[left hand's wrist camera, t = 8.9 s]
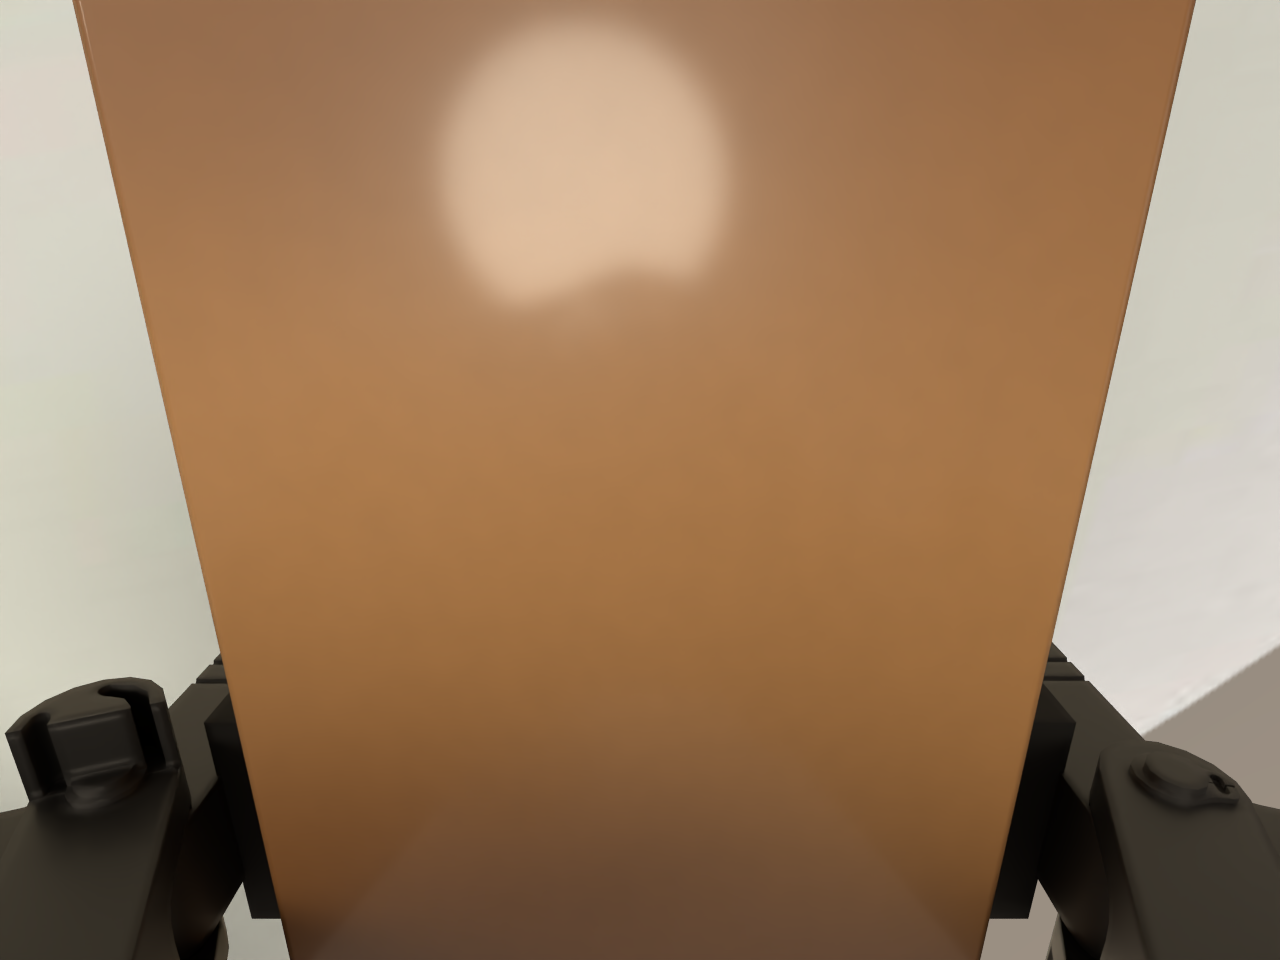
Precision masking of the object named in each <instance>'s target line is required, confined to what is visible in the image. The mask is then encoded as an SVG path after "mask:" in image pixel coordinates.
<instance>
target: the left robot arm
mask: <svg viewBox="0 0 1280 960" xmlns="http://www.w3.org/2000/svg"><path fill="white" fill-rule="evenodd" d="M5 735H6V738H7V741H8V743H9V746H10V749H11V752H12V755H13V757H14V760H15V763H16V766H17V768H18V771H19V774H20V777H21V779H22V782H23V785H24V788H25V791H26V793H27V796H28V799H29V803H28V805H27V807H24V808H20V809H16V810H11V811H6V812H2V813H0V960H227V957H228V949H229V944H228V937H227V930H226V926H225V922H224V918H223V914H224V913H225V911H226V909H227V907H228V906H229V904H230V902H231V901H232V899H233V897H234V896H235V894H236V892H237V890H238V889H239V887H240V885H241V884H242V882H243V885H244V889H245V893H246V897H247V901H248V905H249V909H250V913H251V917H252V919H281V917H280V912H279V908H278V904H277V899H276V895H275V890H274V886H273V882H272V877H271V873H270V868H269V864H268V860H267V855H266V851H265V846H264V842H263V838H262V833H261V829H260V824H259V820H258V816H257V811H256V807H255V802H254V798H253V794H252V789H251V785H250V780H249V776H248V771H247V767H246V763H245V758H244V754H243V749H242V745H241V741H240V736H239V732H238V727H237V723H236V719H235V714H234V710H233V705H232V701H231V697H230V692H229V688H228V683H227V679H226V675H225V670H224V666H223V661H222V657H221V653H220V654H219V655H218V656H217V657H216V659H215V660H214V664H213V665H209V666H208V667H207V668H206V669H205V670H204V671H203V672H202V673H201V675H200V676H199V677H198V678H197V679H196V684H191V685H190V686H189V687H188V688H187V689H186V690H185V692H184V693H183V694H182V695H181V696H180V697H179V698H178V699H177V700H176V701H175V702H174V703H173V704H172V705H171V706H170V708H169V709H168V707H167V703H166V699H165V695H164V691H163V688H161V687H160V686H159V685H157V684H156V683H154V682H153V681H152V680H147V679H140V678H133V677H127V678H117V679H106V680H101V681H98V682H94V683H90V684H86V685H83V686H79V687H75V688H73V689H70V690H68V691H66V692H63V693H61V694H59V695H56V696H54V697H52V698H50V699H47V700H45V701H43V702H42V703H40V704H39V705H37V706H36V707H34V708H33V709H31V710H30V711H28V712H27V713H25V714H23V715H22V716H20V718H19V719H18V720H17V721H16V722H15V723H14V724H13V725H12V726H11V727H10V728H9V729H8V730H7V732H6V733H5ZM1038 880H1039V881H1040V883H1041V885H1042V887H1043V888H1044V890H1045V892H1046V893H1047V895H1048V897H1049V898H1050V900H1051V902H1052V903H1053V905H1054V907H1055V908H1056V910H1057V912H1058V915H1057V918H1056V922H1055V926H1054V930H1053V934H1052V937H1051V941H1050V945H1049V949H1048V952H1047V956H1046V960H1280V809H1276V808H1271V807H1266V806H1262V805H1258V804H1254V803H1252V802H1251V800H1250V799H1249V797H1248V796H1247V795H1246V793H1245V792H1244V791H1243V790H1242V788H1241V787H1240V786H1239V785H1238V783H1237V782H1236V781H1235V780H1233V779H1232V778H1231V777H1229V776H1228V775H1227V774H1225V773H1224V772H1223V771H1221V770H1220V769H1219V768H1217V767H1216V766H1215V765H1213V764H1211V763H1209V762H1207V761H1205V760H1203V759H1201V758H1199V757H1197V756H1195V755H1193V754H1191V753H1189V752H1187V751H1185V750H1181V749H1178V748H1175V747H1172V746H1169V745H1165V744H1162V743H1159V742H1152V741H1145V740H1144V739H1143V738H1142V737H1141V736H1140V735H1139V734H1138V733H1137V731H1136V730H1135V729H1134V728H1133V727H1132V726H1131V725H1130V724H1129V723H1128V722H1127V721H1126V720H1125V719H1124V718H1123V717H1122V716H1121V715H1120V713H1119V712H1118V711H1117V710H1116V709H1115V708H1114V707H1113V706H1112V705H1111V704H1110V703H1109V702H1108V701H1107V700H1106V699H1105V698H1104V697H1103V695H1102V694H1101V693H1100V692H1099V691H1098V690H1097V689H1096V688H1095V687H1094V686H1093V685H1092V684H1091V683H1090V682H1089V681H1085V679H1084V675H1083V674H1082V673H1081V672H1080V671H1079V670H1078V669H1077V668H1076V667H1075V666H1074V665H1073V664H1072V663H1071V662H1067V657H1066V656H1065V655H1064V654H1063V653H1062V652H1061V651H1060V650H1059V649H1058V648H1057V647H1056V646H1055V645H1054V644H1053V643H1052V642H1051V647H1050V651H1049V655H1048V660H1047V664H1046V669H1045V673H1044V678H1043V682H1042V687H1041V691H1040V696H1039V700H1038V704H1037V709H1036V713H1035V718H1034V722H1033V727H1032V731H1031V736H1030V740H1029V744H1028V749H1027V753H1026V758H1025V762H1024V767H1023V771H1022V776H1021V780H1020V784H1019V789H1018V793H1017V798H1016V802H1015V807H1014V811H1013V816H1012V820H1011V825H1010V829H1009V833H1008V838H1007V842H1006V847H1005V851H1004V856H1003V860H1002V865H1001V869H1000V873H999V878H998V882H997V887H996V891H995V896H994V900H993V905H992V909H991V913H990V918H989V919H1028V917H1029V913H1030V909H1031V905H1032V901H1033V897H1034V893H1035V889H1036V885H1037V881H1038Z"/></svg>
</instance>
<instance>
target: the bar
mask: <svg viewBox="0 0 1280 960" xmlns="http://www.w3.org/2000/svg"><path fill="white" fill-rule="evenodd" d="M72 1H73V5H74V9H75V14H76V18H77V23H78V27H79V31H80V36H81V40H82V45H83V49H84V53H85V58H86V62H87V67H88V71H89V75H90V80H91V84H92V89H93V93H94V97H95V102H96V106H97V111H98V115H99V120H100V124H101V128H102V133H103V137H104V142H105V146H106V150H107V155H108V159H109V164H110V168H111V172H112V177H113V181H114V186H115V190H116V194H117V199H118V203H119V208H120V212H121V216H122V221H123V225H124V230H125V234H126V238H127V243H128V247H129V252H130V256H131V260H132V265H133V269H134V274H135V278H136V283H137V287H138V291H139V296H140V300H141V305H142V309H143V313H144V318H145V322H146V327H147V331H148V335H149V340H150V344H151V349H152V353H153V357H154V362H155V366H156V371H157V375H158V379H159V384H160V388H161V393H162V397H163V401H164V406H165V410H166V415H167V419H168V423H169V428H170V432H171V437H172V441H173V445H174V450H175V454H176V459H177V463H178V468H179V472H180V476H181V481H182V485H183V490H184V494H185V498H186V503H187V507H188V512H189V516H190V520H191V525H192V529H193V534H194V538H195V542H196V547H197V551H198V556H199V560H200V564H201V569H202V573H203V578H204V582H205V586H206V591H207V595H208V600H209V604H210V608H211V613H212V617H213V622H214V626H215V631H216V635H217V639H218V644H219V648H220V653H221V657H222V661H223V666H224V670H225V675H226V679H227V683H228V688H229V692H230V697H231V701H232V705H233V710H234V714H235V719H236V723H237V727H238V732H239V736H240V741H241V745H242V749H243V754H244V758H245V763H246V767H247V771H248V776H249V780H250V785H251V789H252V794H253V798H254V802H255V807H256V811H257V816H258V820H259V824H260V829H261V833H262V838H263V842H264V846H265V851H266V855H267V860H268V864H269V868H270V873H271V877H272V882H273V886H274V890H275V895H276V899H277V904H278V908H279V912H280V917H281V921H282V926H283V930H284V934H285V939H286V943H287V948H288V952H289V956H290V960H980V958H981V953H982V949H983V945H984V940H985V936H986V931H987V927H988V922H989V918H990V913H991V909H992V905H993V900H994V896H995V891H996V887H997V882H998V878H999V873H1000V869H1001V865H1002V860H1003V856H1004V851H1005V847H1006V842H1007V838H1008V833H1009V829H1010V825H1011V820H1012V816H1013V811H1014V807H1015V802H1016V798H1017V793H1018V789H1019V784H1020V780H1021V776H1022V771H1023V767H1024V762H1025V758H1026V753H1027V749H1028V744H1029V740H1030V736H1031V731H1032V727H1033V722H1034V718H1035V713H1036V709H1037V704H1038V700H1039V696H1040V691H1041V687H1042V682H1043V678H1044V673H1045V669H1046V664H1047V660H1048V655H1049V651H1050V647H1051V642H1052V638H1053V633H1054V629H1055V624H1056V620H1057V615H1058V611H1059V607H1060V602H1061V598H1062V593H1063V589H1064V584H1065V580H1066V575H1067V571H1068V567H1069V562H1070V558H1071V553H1072V549H1073V544H1074V540H1075V535H1076V531H1077V526H1078V522H1079V518H1080V513H1081V509H1082V504H1083V500H1084V495H1085V491H1086V486H1087V482H1088V478H1089V473H1090V469H1091V464H1092V460H1093V455H1094V451H1095V446H1096V442H1097V438H1098V433H1099V429H1100V424H1101V420H1102V415H1103V411H1104V406H1105V402H1106V397H1107V393H1108V389H1109V384H1110V380H1111V375H1112V371H1113V366H1114V362H1115V357H1116V353H1117V349H1118V344H1119V340H1120V335H1121V331H1122V326H1123V322H1124V317H1125V313H1126V309H1127V304H1128V300H1129V295H1130V291H1131V286H1132V282H1133V277H1134V273H1135V268H1136V264H1137V260H1138V255H1139V251H1140V246H1141V242H1142V237H1143V233H1144V228H1145V224H1146V220H1147V215H1148V211H1149V206H1150V202H1151V197H1152V193H1153V188H1154V184H1155V180H1156V175H1157V171H1158V166H1159V162H1160V157H1161V153H1162V148H1163V144H1164V140H1165V135H1166V131H1167V126H1168V122H1169V117H1170V113H1171V108H1172V104H1173V99H1174V95H1175V91H1176V86H1177V82H1178V77H1179V73H1180V68H1181V64H1182V59H1183V55H1184V51H1185V46H1186V42H1187V37H1188V33H1189V28H1190V24H1191V19H1192V15H1193V10H1194V6H1195V2H1196V0H72Z"/></svg>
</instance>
